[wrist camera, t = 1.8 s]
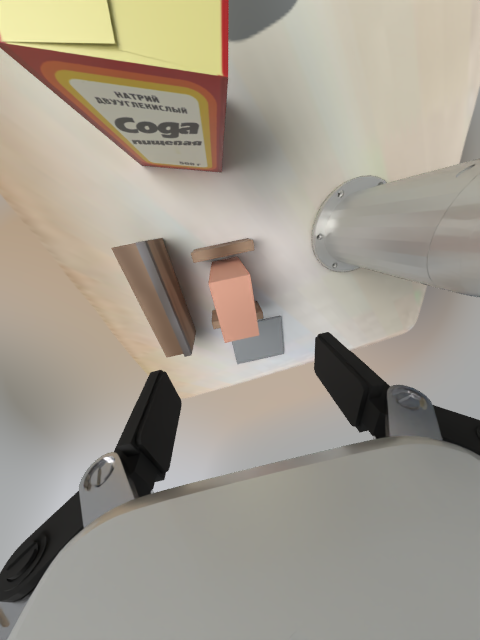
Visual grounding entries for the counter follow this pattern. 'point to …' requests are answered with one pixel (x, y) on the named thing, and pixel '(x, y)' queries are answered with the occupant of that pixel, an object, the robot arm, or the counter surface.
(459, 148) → the counter surface
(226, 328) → the salmon pink block
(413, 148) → the counter surface
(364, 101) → the counter surface
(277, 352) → the grey mat
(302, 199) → the counter surface
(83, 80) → the baking soda box
